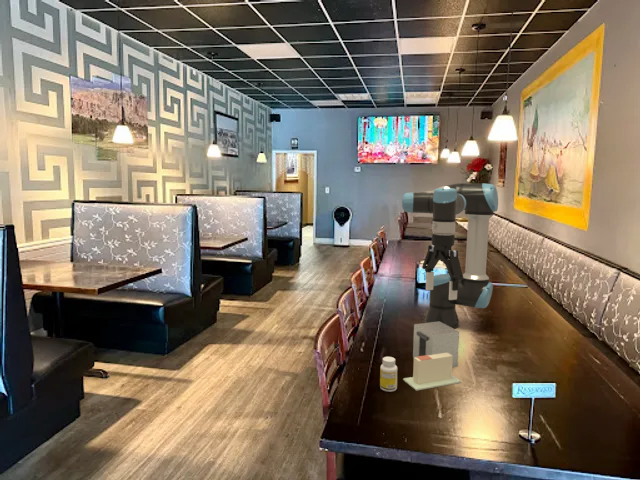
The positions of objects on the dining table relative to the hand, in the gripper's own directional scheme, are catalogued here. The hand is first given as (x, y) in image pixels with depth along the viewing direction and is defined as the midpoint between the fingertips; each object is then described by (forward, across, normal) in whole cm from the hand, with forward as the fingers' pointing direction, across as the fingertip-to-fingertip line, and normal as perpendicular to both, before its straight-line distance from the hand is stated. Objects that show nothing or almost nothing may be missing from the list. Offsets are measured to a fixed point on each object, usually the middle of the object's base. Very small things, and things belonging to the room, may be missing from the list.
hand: (440, 294), depth 154 cm
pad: (+27, +8, -8) cm, 29 cm away
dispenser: (+27, -4, +2) cm, 27 cm away
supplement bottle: (+27, +8, -24) cm, 37 cm away
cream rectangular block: (+26, +8, -8) cm, 29 cm away
